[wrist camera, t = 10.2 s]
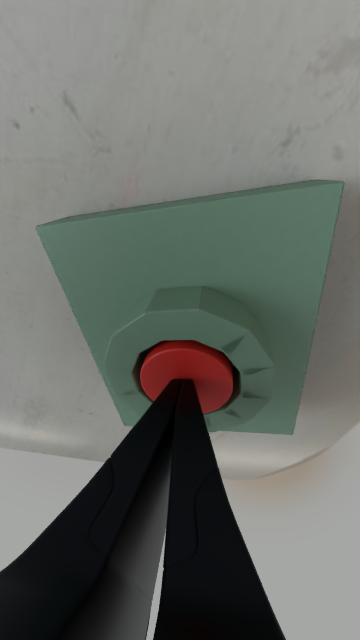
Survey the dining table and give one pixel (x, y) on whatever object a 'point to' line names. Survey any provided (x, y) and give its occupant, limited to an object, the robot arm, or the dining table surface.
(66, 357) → the dining table surface
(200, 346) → the button
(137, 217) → the button housing
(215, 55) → the dining table surface
